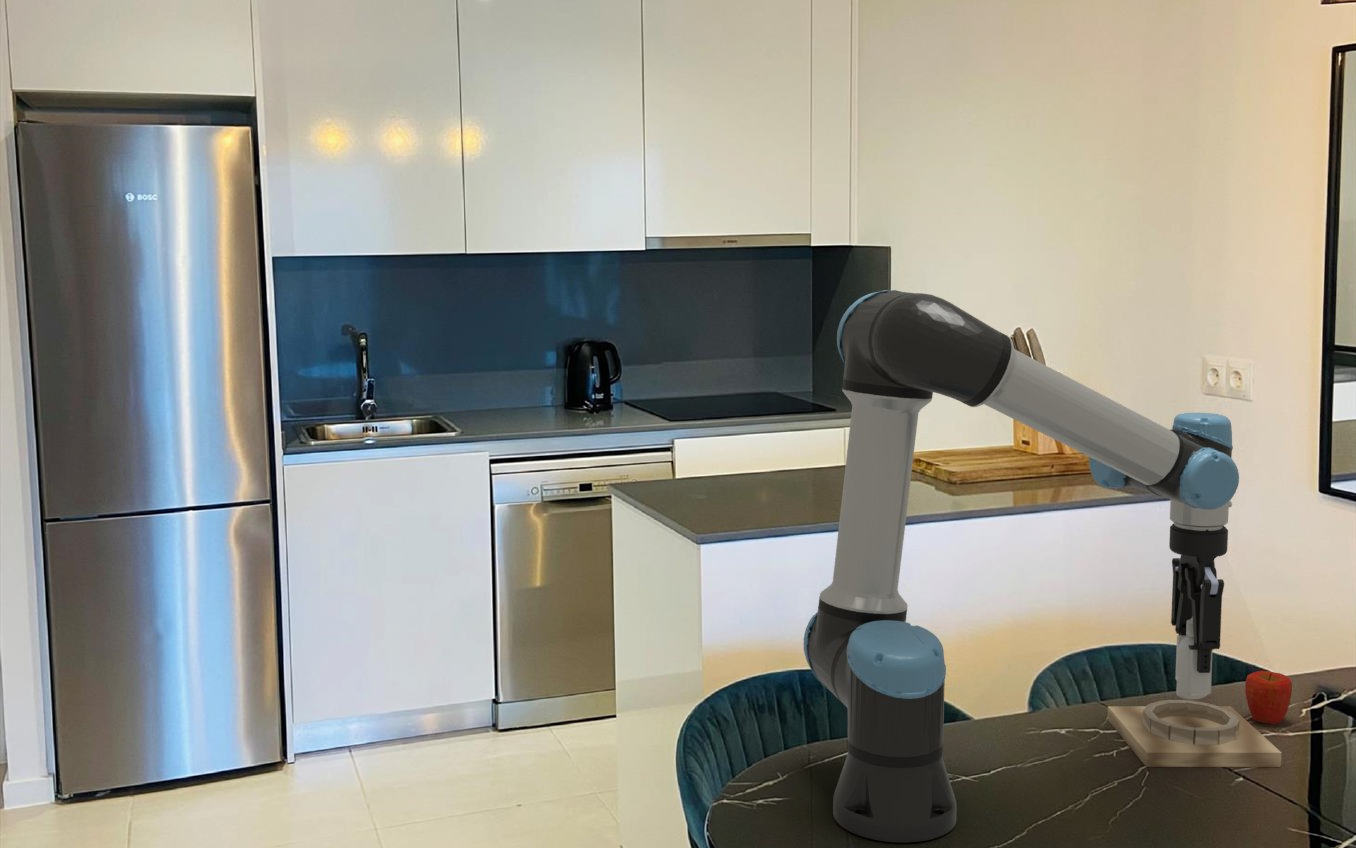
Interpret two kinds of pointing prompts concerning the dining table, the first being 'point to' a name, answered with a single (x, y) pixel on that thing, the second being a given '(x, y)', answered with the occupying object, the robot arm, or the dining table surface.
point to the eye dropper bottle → (1185, 665)
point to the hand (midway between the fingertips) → (1192, 686)
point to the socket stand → (1192, 735)
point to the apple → (1268, 696)
